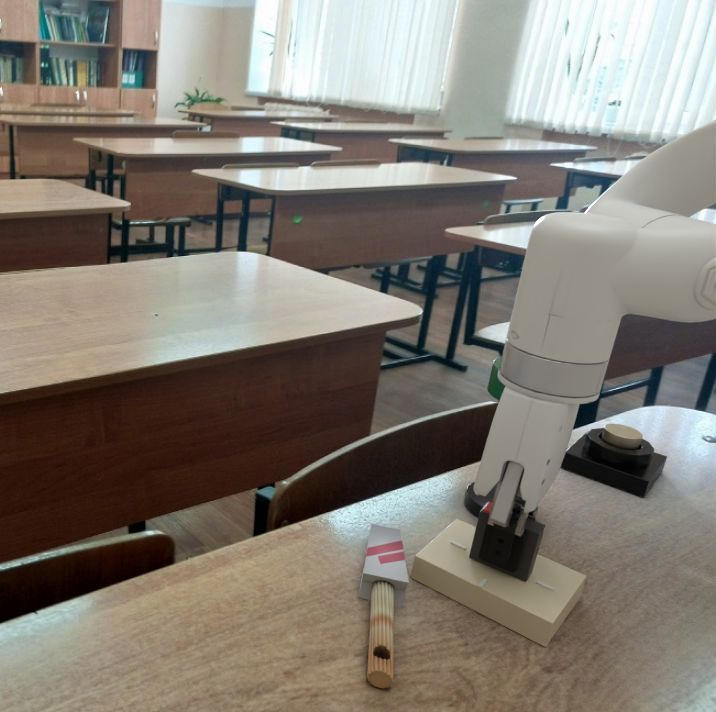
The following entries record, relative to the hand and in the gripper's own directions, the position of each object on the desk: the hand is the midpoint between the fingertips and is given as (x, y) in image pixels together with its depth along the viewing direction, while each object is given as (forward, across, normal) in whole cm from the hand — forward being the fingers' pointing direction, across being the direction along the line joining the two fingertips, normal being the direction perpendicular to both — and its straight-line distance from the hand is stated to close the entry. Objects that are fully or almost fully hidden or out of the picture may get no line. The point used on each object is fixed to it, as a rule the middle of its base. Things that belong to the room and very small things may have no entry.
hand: (502, 556), depth 66 cm
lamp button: (0, -34, +4) cm, 34 cm away
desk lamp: (+3, -14, -4) cm, 15 cm away
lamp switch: (+3, -34, +4) cm, 34 cm away
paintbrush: (+4, +9, -7) cm, 12 cm away
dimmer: (+3, 0, 0) cm, 3 cm away
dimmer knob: (+1, 0, 0) cm, 1 cm away
